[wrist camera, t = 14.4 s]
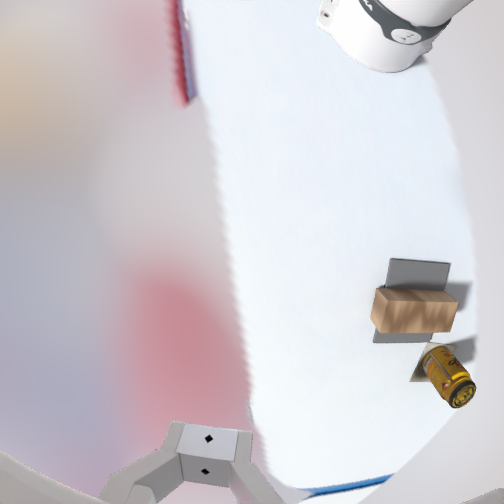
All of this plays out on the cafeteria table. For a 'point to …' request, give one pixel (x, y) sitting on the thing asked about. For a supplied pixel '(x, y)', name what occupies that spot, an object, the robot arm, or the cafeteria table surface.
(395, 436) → the cafeteria table surface
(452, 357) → the condiment
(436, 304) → the block
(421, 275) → the mat
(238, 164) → the cafeteria table surface
